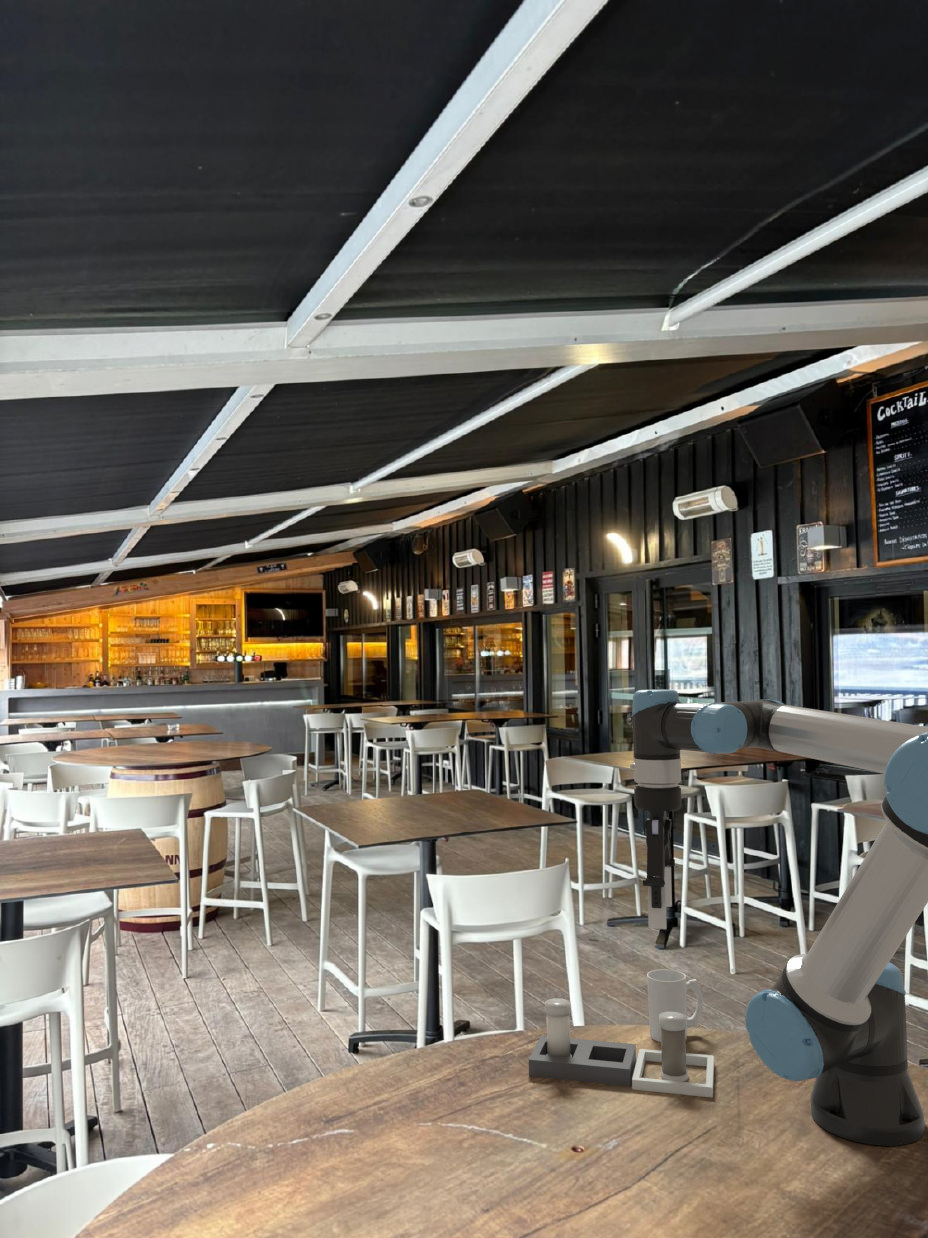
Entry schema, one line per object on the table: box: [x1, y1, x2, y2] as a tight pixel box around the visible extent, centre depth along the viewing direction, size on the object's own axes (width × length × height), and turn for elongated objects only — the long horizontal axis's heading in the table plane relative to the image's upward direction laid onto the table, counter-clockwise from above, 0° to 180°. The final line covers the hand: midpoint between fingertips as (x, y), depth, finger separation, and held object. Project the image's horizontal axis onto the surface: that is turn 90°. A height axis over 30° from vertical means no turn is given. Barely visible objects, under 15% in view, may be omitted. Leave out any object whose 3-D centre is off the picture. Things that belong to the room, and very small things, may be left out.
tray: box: [631, 1048, 715, 1098], centre depth 146 cm, size 12×12×3 cm
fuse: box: [544, 997, 572, 1058], centre depth 151 cm, size 4×4×10 cm
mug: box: [646, 968, 704, 1043], centre depth 163 cm, size 10×7×12 cm, turn 99°
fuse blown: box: [659, 1012, 689, 1082], centre depth 146 cm, size 4×4×10 cm
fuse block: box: [528, 1035, 637, 1087], centre depth 150 cm, size 16×10×4 cm, turn 74°
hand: (660, 916), depth 149 cm, fingers open, 13 cm apart
